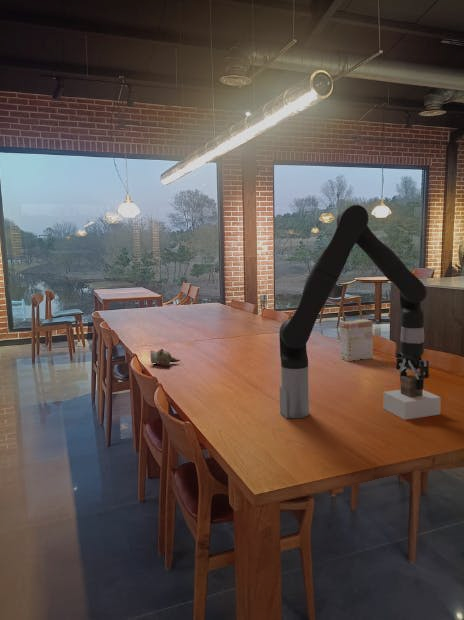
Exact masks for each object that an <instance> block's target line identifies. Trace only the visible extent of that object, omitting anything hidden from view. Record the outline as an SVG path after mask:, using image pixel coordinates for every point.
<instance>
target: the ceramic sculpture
mask: <svg viewBox="0 0 464 620" xmlns="http://www.w3.org/2000/svg"><path fill="white" fill-rule="evenodd" d="M180 361H181V359H177V358H175V357H173V356H172V355H171V352H169V351H165V350H164V349H159V350H158V351H154V350H150V362H151V364H152V363H157V364H156V365H159V364H161V365H160V366H162V365H163V367H168V366H171V363H170V362H176V363H177V362H180Z"/></svg>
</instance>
